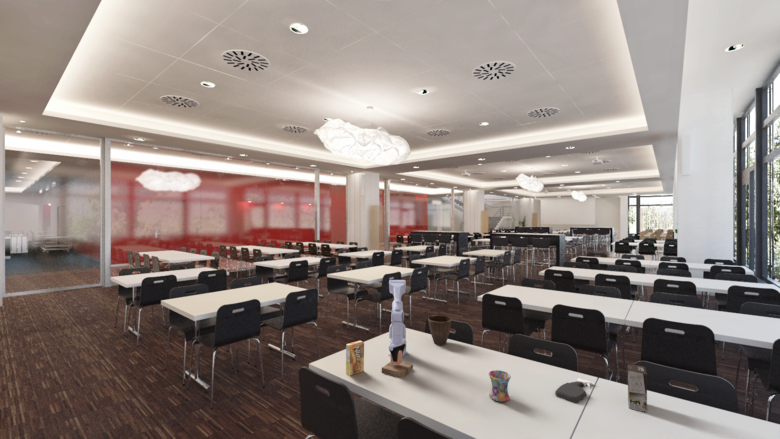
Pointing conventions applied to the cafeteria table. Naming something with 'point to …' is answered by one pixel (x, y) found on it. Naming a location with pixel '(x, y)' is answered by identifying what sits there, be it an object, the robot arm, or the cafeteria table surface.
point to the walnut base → (397, 369)
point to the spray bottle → (573, 391)
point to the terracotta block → (397, 359)
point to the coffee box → (637, 387)
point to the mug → (499, 385)
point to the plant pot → (439, 328)
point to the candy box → (354, 357)
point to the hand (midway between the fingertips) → (397, 359)
